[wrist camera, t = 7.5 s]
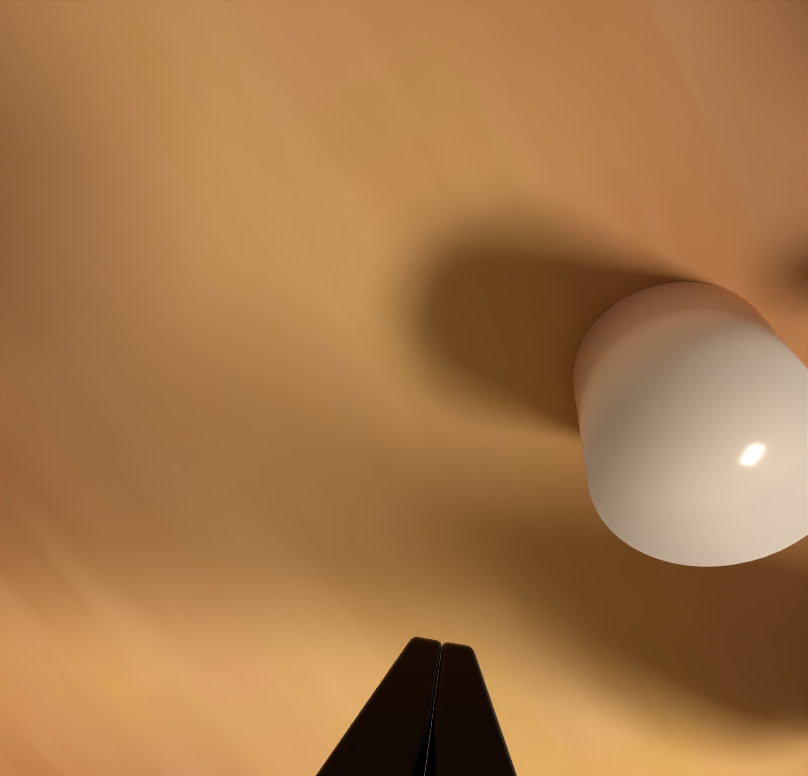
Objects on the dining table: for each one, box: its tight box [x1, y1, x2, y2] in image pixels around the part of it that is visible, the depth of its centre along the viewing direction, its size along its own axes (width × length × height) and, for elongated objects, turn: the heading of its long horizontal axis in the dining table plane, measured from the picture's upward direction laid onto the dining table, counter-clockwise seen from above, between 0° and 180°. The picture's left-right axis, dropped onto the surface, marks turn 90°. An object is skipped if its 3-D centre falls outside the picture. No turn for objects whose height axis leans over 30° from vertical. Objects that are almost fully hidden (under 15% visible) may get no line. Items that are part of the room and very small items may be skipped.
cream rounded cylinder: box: [573, 282, 808, 567], centre depth 17 cm, size 6×6×5 cm
